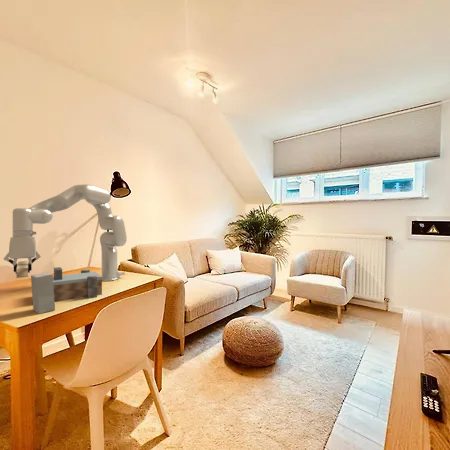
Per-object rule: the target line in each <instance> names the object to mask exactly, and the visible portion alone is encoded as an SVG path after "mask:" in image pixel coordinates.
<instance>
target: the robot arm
mask: <svg viewBox="0 0 450 450" xmlns="http://www.w3.org/2000/svg"><path fill="white" fill-rule="evenodd" d="M81 200H84V201H85V202H87V203H88V204H90V206H91V205H92V206H93V207H94V209H95V210H96V214H97V218H98V224H99V227H100V229H101V230H104V232H102V233H101V234H100V236H99V242H100V249H101V276H102V282H111V281H112V280H113V281H118V280H119V279H120V278H121V277H120V276H125V275H126V272H125V271H121V272H119V271H118V250H117V247H123V246H125V245H126V243H127V231H126V225H125V221H124V219H123V218H122V217H121V215H120V216H119V215H113V213H112V209H111V206H110V204H109V202H110V201H111V193H110V192H109V191H108V190H106V189H104V188H100V187H97V186H94V185H92V184H87V183H85V184H76V185H73V186H71V187H69V188H68V189H66V190H64V191H62V192H61V193H59V194H57V195H55V196H52V197H49V198H47V199H45V200H42V201H40V202H38V203H35V204H34V205H32V206H30V207H28V208H25V207H24V208H21V207H18V208H17V207H15V208H14V209H13V210H12V237H10V239H9V243H8V244H9V245H8V253H6V255H5V256H4V257H3V260H4V261H6V262H8V263H10V264H12V266H13V273H16V269H17V264H18V259H19V260H20V259H27V261H28V274H29V273H30V272H31V271H33V270H32V269H33V266H32V265H33V263H34V262H35V261H37V260H39V259H41V255H40V253H39V252H38V251H37V245H36V244H37V243H36V238H35V235H37V231H34V230H33V228H34V227H33V226H34V225H33V224H39V225H43V224H47V223H50V222H51V221H52V220H53V217H54V216H53V213H56V212H61V211H65V210H67V209H69V208H71V207H72V206H74V205H75V204H77V203H78V202H80V201H81Z"/></svg>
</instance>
